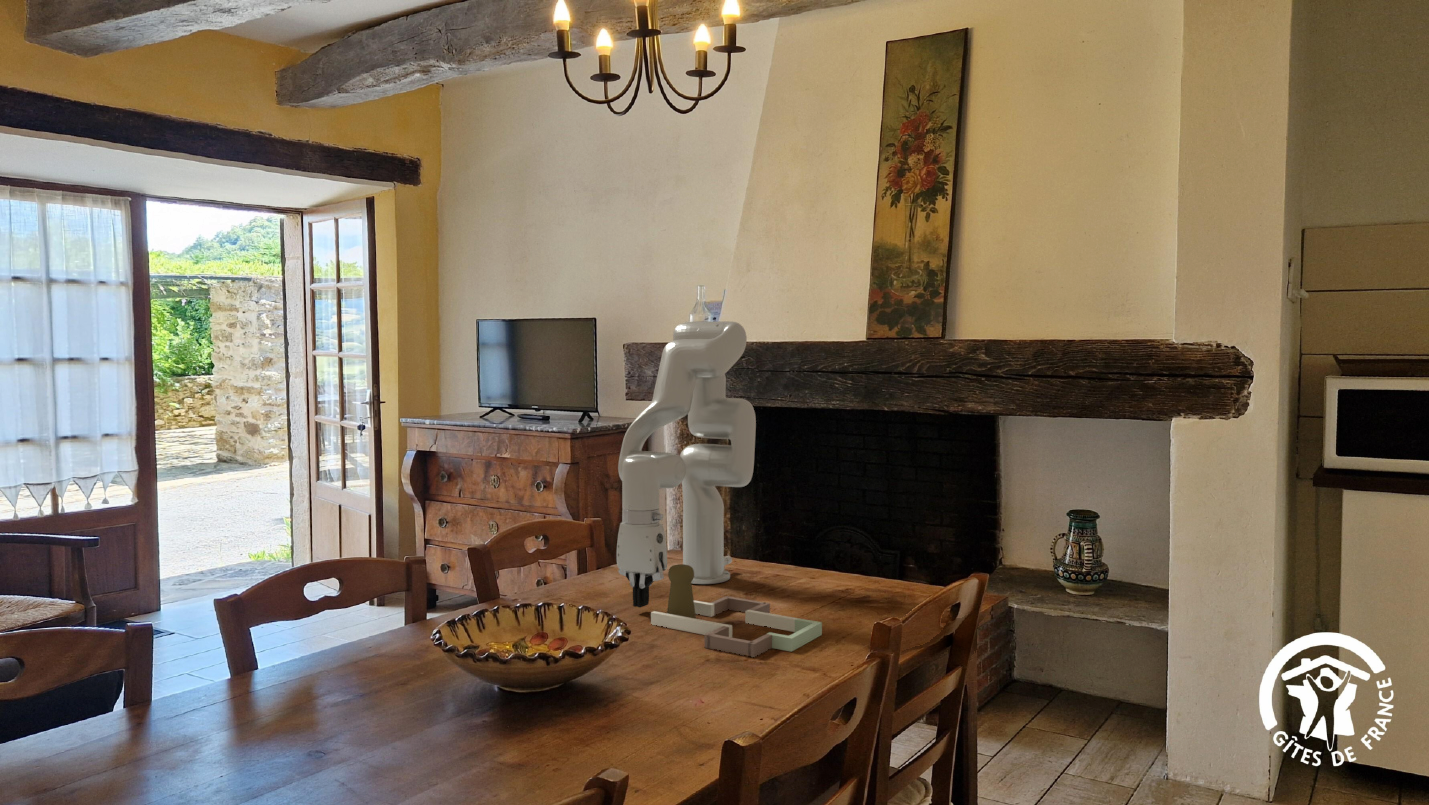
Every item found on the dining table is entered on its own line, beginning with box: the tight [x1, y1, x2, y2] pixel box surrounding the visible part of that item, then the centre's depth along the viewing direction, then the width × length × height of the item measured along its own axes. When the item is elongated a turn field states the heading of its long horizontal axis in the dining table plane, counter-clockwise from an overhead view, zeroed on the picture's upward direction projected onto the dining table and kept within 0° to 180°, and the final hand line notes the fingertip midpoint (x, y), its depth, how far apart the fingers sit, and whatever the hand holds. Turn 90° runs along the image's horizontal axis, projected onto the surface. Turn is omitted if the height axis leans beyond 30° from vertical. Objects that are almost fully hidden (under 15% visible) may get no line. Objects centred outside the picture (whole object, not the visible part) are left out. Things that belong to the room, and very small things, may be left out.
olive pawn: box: [666, 563, 697, 619], centre depth 197 cm, size 6×6×11 cm
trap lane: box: [650, 595, 823, 658], centre depth 190 cm, size 25×31×2 cm
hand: (640, 605), depth 202 cm, fingers closed
